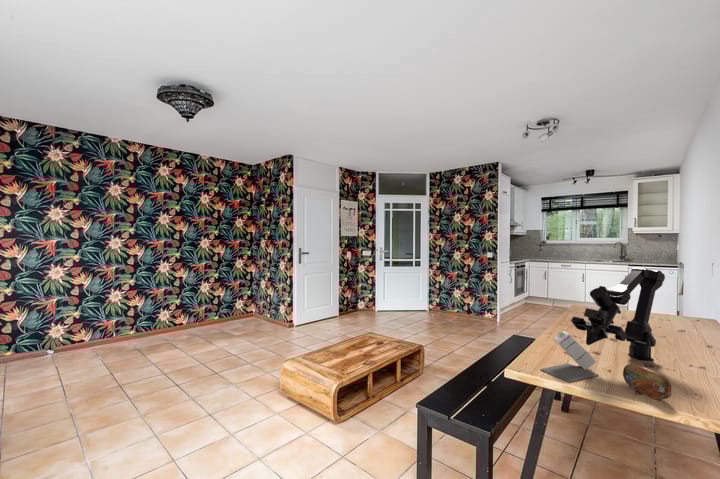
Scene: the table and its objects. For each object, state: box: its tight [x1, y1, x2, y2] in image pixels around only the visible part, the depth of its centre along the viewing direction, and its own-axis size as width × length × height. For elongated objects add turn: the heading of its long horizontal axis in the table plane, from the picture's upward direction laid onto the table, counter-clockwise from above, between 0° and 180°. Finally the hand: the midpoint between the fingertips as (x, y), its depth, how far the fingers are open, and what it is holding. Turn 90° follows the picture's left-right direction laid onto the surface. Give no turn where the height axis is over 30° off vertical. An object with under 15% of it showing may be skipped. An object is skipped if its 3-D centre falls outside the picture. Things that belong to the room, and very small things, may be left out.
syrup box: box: [552, 329, 598, 370], centre depth 132 cm, size 6×6×14 cm
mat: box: [539, 363, 600, 383], centre depth 126 cm, size 16×12×1 cm
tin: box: [622, 363, 672, 401], centre depth 110 cm, size 15×3×8 cm, turn 5°
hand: (587, 344), depth 130 cm, fingers closed
